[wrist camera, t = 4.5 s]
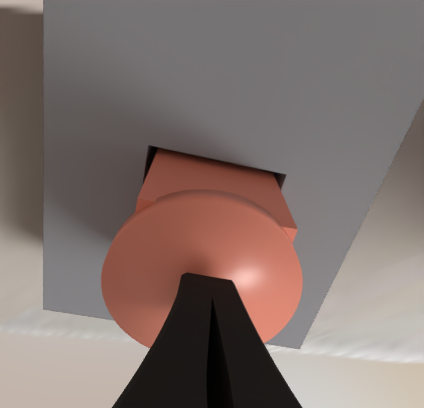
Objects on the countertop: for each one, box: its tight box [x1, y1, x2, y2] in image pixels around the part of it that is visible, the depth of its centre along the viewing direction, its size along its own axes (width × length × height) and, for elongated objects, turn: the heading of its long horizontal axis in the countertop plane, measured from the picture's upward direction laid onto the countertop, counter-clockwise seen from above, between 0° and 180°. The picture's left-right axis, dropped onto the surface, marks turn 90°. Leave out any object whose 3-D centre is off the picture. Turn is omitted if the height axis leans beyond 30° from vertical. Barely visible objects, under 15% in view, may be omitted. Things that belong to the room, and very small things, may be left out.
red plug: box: [101, 148, 303, 348], centre depth 12 cm, size 6×6×5 cm
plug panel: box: [43, 0, 424, 349], centre depth 12 cm, size 12×24×4 cm, turn 167°
